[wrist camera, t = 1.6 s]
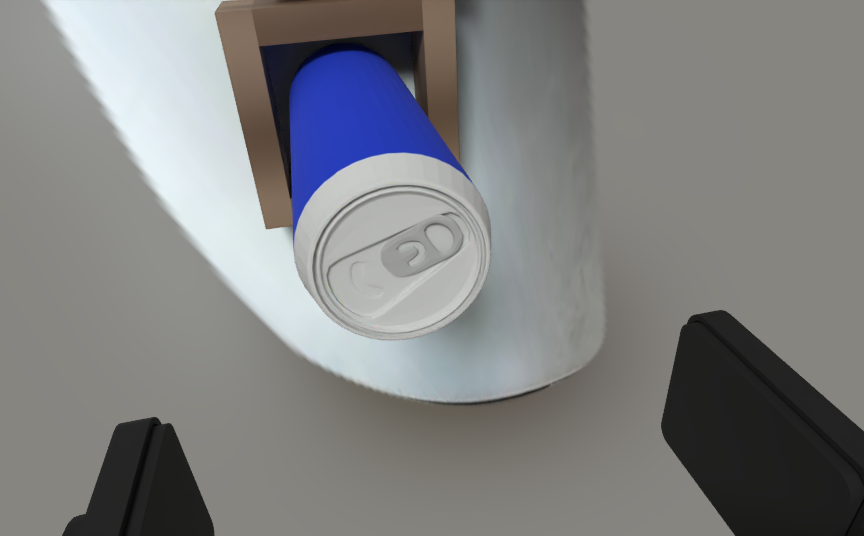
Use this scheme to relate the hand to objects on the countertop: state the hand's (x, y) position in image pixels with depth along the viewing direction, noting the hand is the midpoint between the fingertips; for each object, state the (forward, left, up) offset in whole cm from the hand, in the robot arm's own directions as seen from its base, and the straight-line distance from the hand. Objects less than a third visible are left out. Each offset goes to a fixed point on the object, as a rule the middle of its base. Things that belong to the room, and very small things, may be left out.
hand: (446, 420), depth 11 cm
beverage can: (-1, 0, -20) cm, 20 cm away
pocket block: (-1, 0, -20) cm, 20 cm away
